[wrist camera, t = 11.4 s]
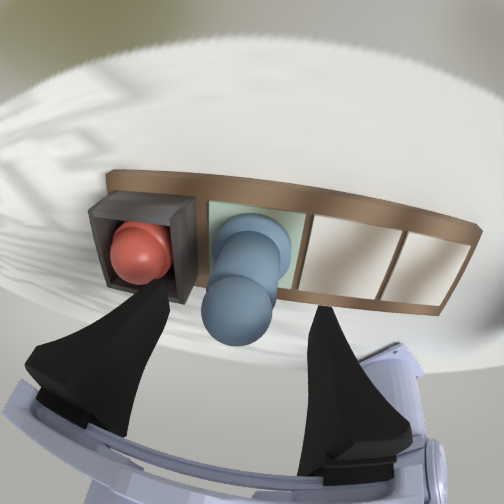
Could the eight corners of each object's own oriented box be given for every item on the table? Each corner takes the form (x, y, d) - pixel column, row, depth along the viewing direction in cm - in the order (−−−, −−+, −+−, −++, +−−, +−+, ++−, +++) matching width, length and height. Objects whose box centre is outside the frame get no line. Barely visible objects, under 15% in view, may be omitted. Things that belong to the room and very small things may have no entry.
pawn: (252, 288, 19) (233, 377, 13) (201, 243, 17) (157, 326, 11) (307, 252, 16) (308, 345, 11) (253, 197, 15) (225, 276, 9)
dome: (179, 212, 16) (151, 246, 13) (183, 266, 18) (161, 305, 15) (123, 206, 16) (89, 236, 13) (132, 257, 18) (105, 292, 15)
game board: (476, 224, 14) (504, 255, 11) (434, 307, 19) (449, 343, 16) (113, 169, 16) (77, 192, 13) (129, 264, 21) (104, 297, 17)
